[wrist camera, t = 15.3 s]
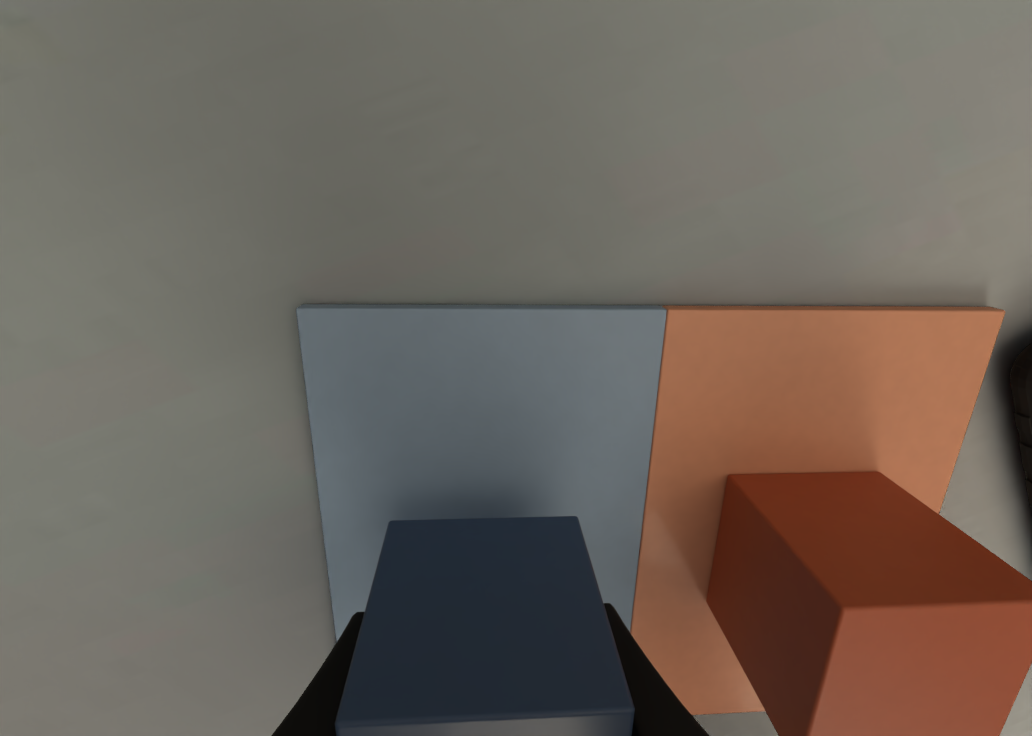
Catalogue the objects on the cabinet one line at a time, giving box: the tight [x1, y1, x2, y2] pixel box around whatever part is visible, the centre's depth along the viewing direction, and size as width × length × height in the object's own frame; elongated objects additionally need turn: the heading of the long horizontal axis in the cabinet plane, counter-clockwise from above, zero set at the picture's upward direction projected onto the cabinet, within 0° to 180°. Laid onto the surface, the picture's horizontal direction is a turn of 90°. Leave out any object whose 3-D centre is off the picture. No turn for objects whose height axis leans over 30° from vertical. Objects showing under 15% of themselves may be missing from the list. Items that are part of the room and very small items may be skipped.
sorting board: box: [296, 304, 1005, 715], centre depth 16 cm, size 14×18×1 cm
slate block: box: [335, 516, 635, 736], centre depth 11 cm, size 4×4×5 cm
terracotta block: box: [706, 472, 1032, 736], centre depth 13 cm, size 4×4×5 cm
